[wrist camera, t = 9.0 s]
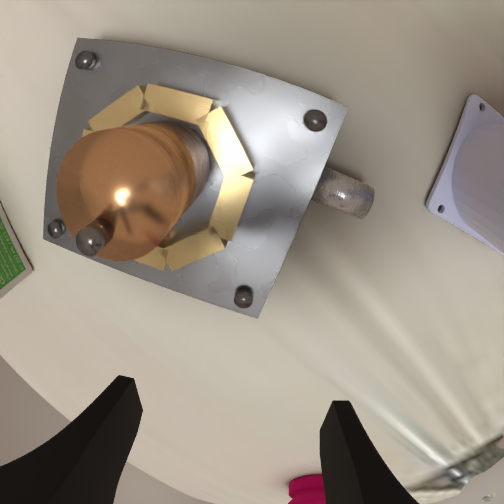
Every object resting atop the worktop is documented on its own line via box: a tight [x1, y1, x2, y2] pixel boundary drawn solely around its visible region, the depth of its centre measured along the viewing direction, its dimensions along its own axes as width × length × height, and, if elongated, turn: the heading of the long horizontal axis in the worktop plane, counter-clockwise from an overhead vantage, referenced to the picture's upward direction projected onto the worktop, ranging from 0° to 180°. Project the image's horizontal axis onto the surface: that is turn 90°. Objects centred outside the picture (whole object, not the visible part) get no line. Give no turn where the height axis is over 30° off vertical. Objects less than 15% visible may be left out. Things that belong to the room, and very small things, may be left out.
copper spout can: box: [57, 121, 210, 261], centre depth 11 cm, size 4×4×7 cm
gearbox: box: [43, 38, 374, 319], centre depth 15 cm, size 17×12×4 cm
